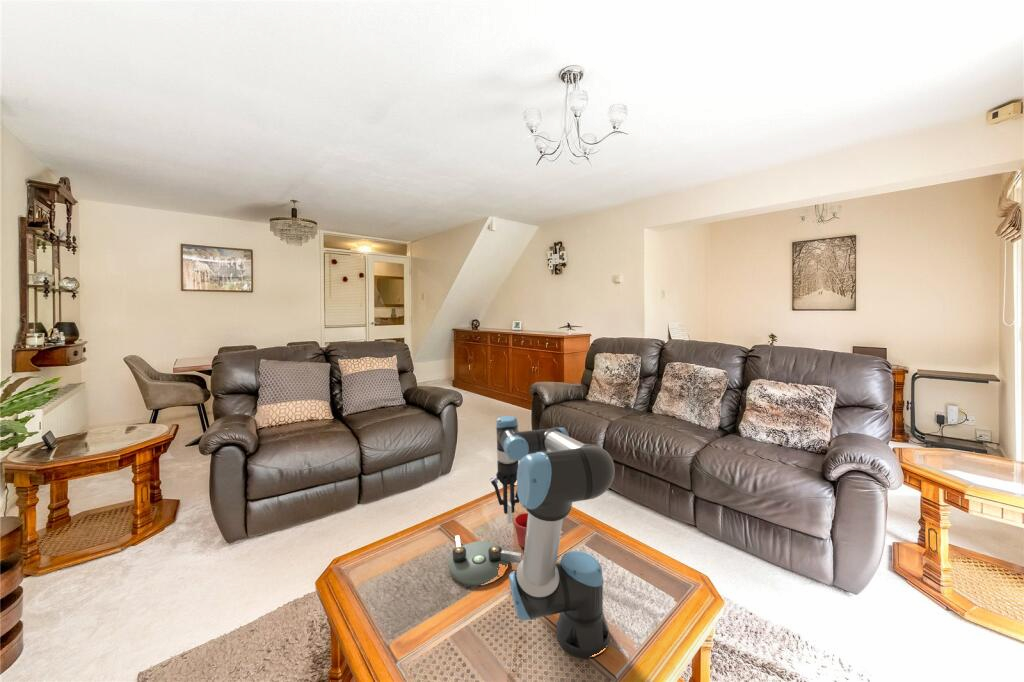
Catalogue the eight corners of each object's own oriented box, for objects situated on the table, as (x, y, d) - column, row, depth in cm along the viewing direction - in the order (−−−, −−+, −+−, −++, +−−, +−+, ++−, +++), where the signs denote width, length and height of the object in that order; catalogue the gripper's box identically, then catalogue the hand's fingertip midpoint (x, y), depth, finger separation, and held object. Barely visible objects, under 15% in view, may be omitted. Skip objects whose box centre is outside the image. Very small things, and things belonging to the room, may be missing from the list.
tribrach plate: (514, 579, 136) (514, 573, 136) (451, 591, 131) (451, 585, 131) (502, 542, 157) (502, 536, 157) (447, 551, 152) (447, 545, 152)
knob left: (467, 561, 142) (466, 552, 142) (453, 563, 141) (452, 554, 141) (463, 541, 155) (463, 532, 154) (451, 543, 153) (450, 534, 153)
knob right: (486, 560, 142) (486, 551, 142) (491, 552, 147) (490, 543, 147) (519, 566, 139) (519, 557, 139) (523, 557, 144) (522, 548, 143)
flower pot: (541, 534, 161) (541, 512, 160) (541, 551, 150) (540, 528, 149) (516, 534, 162) (515, 512, 161) (513, 550, 151) (513, 527, 150)
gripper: (523, 453, 143) (524, 512, 146) (488, 456, 141) (490, 517, 144) (527, 462, 136) (528, 524, 139) (491, 465, 134) (493, 529, 137)
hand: (509, 520), depth 142 cm, fingers closed
